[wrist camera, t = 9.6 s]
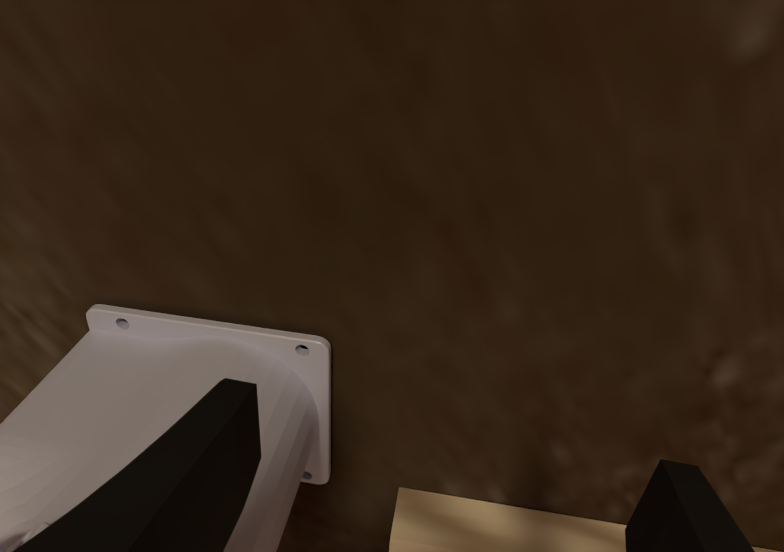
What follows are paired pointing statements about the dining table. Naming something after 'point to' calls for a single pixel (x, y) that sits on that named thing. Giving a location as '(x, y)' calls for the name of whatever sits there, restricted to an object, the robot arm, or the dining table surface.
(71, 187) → the dining table surface
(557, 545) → the notched board
